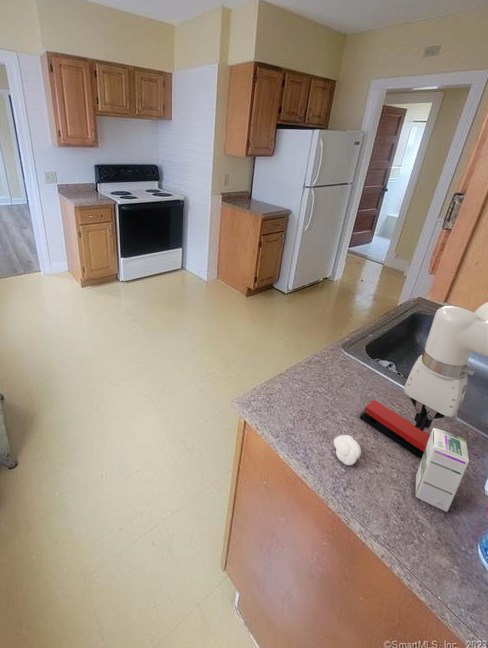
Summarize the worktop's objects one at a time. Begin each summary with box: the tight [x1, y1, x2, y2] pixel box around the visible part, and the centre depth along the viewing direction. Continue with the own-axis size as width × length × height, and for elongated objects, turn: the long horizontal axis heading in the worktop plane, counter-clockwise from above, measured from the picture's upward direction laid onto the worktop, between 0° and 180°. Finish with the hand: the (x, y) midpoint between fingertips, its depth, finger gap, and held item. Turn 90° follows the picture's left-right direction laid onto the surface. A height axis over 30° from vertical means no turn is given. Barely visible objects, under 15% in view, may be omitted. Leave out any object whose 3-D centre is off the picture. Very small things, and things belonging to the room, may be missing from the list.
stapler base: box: [359, 411, 424, 460], centre depth 81 cm, size 16×5×2 cm, turn 38°
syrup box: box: [414, 427, 470, 513], centre depth 65 cm, size 6×6×14 cm
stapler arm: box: [363, 399, 431, 452], centre depth 80 cm, size 15×4×2 cm, turn 38°
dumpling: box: [333, 434, 362, 466], centre depth 75 cm, size 7×5×4 cm
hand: (421, 426), depth 76 cm, fingers closed
